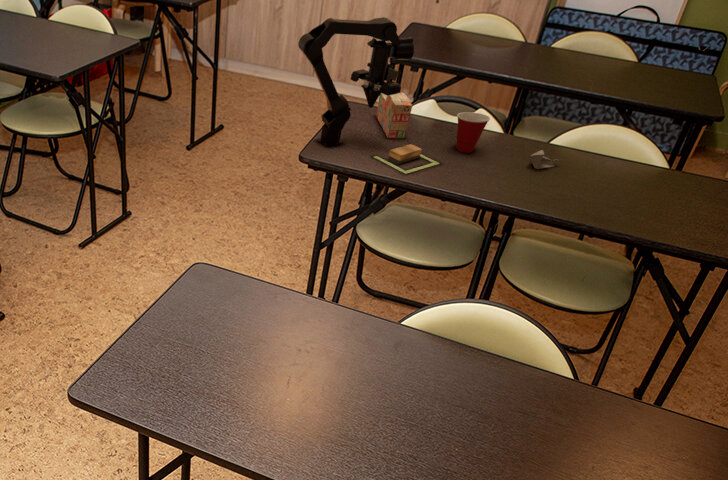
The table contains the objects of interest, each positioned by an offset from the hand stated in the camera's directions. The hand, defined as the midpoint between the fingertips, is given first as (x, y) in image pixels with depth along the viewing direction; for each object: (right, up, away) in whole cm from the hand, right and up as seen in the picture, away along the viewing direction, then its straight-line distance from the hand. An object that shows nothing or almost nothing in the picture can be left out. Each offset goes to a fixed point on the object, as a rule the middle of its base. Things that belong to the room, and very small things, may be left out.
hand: (370, 107), depth 237 cm
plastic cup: (+34, -14, +4) cm, 37 cm away
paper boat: (+55, -23, -7) cm, 60 cm away
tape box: (+11, -19, -4) cm, 22 cm away
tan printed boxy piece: (+12, -1, +18) cm, 22 cm away
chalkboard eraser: (+10, -19, -4) cm, 22 cm away
